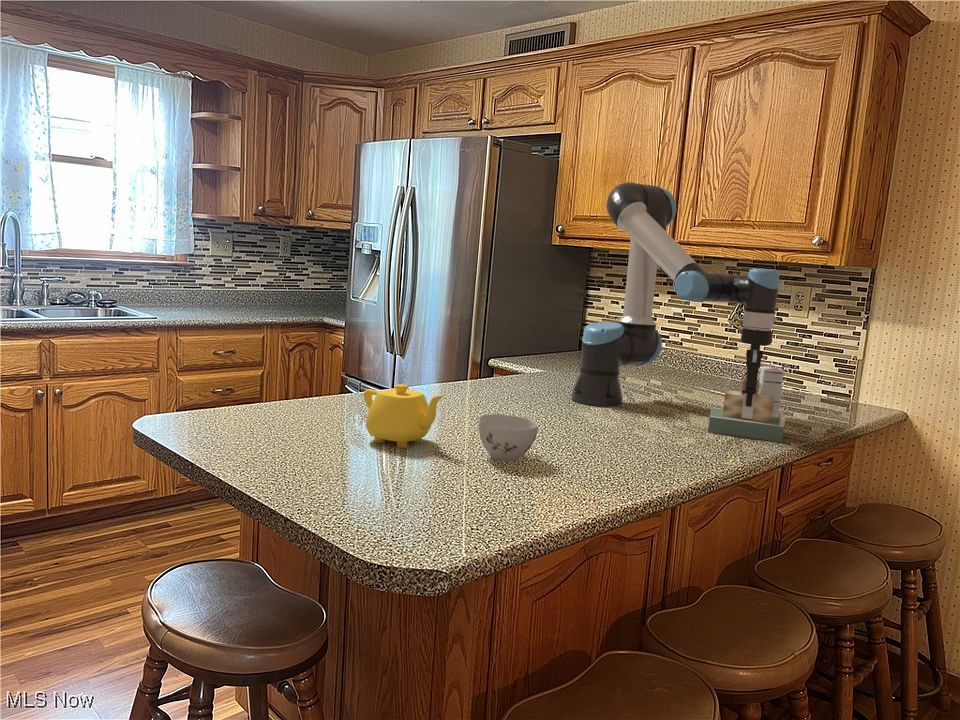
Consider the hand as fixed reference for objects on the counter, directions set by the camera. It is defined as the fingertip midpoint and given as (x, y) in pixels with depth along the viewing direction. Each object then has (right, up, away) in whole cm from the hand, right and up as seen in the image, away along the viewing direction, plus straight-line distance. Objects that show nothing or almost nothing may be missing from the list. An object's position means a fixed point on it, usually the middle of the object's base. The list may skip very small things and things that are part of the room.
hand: (746, 415), depth 199 cm
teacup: (-64, -6, -41) cm, 77 cm away
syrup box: (+14, -2, +24) cm, 28 cm away
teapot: (-87, -3, -35) cm, 94 cm away
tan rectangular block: (0, 0, 0) cm, 0 cm away
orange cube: (0, +6, -1) cm, 6 cm away
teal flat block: (0, -4, +1) cm, 4 cm away
